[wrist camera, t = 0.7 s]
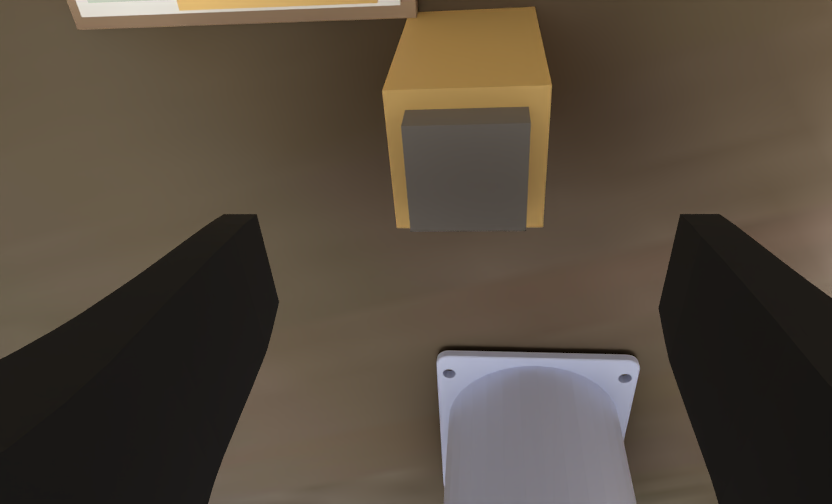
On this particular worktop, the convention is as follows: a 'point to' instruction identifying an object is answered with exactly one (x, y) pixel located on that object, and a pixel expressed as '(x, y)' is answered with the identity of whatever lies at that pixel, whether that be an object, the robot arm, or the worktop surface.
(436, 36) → the block
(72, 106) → the worktop surface
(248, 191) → the worktop surface
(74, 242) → the worktop surface
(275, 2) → the compartment tray
